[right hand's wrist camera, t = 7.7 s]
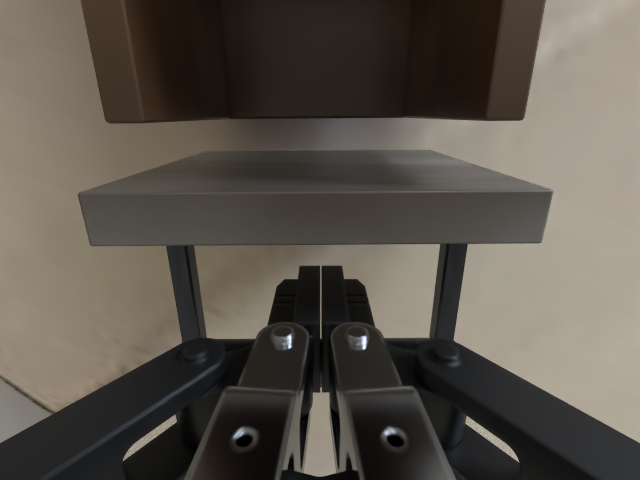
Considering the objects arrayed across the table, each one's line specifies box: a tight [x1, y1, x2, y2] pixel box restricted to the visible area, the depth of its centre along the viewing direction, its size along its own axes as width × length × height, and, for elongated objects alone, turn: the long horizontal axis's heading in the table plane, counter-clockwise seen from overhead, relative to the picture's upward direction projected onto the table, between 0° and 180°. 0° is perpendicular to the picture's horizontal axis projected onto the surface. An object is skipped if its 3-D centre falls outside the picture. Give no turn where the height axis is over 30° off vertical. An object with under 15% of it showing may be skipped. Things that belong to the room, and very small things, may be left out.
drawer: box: [78, 0, 553, 387], centre depth 10 cm, size 22×10×8 cm, turn 0°
